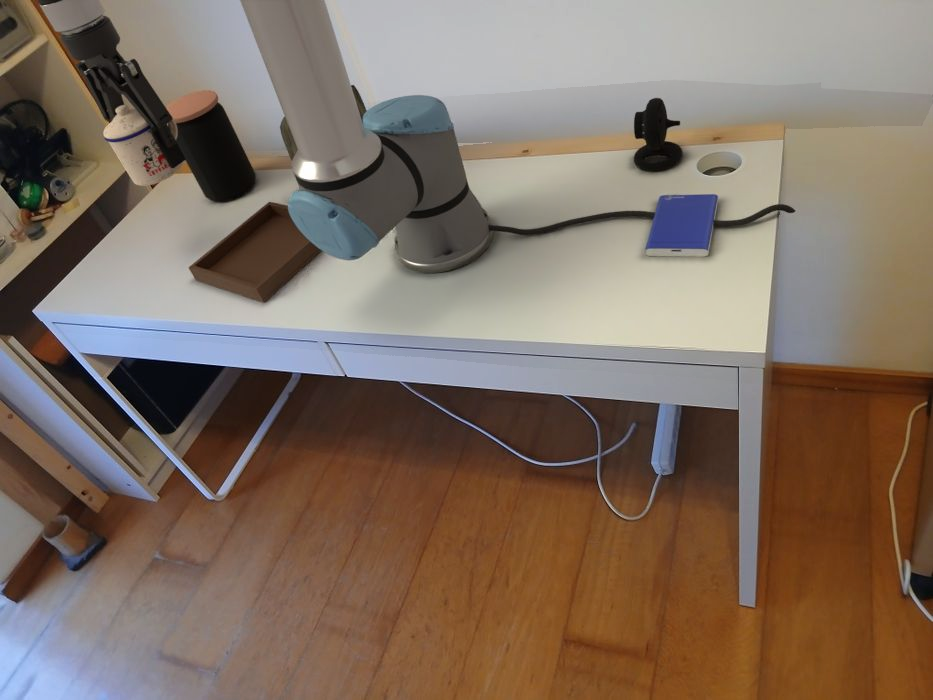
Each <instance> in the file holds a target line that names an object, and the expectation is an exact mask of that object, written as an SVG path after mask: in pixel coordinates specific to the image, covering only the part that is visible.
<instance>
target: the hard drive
mask: <svg viewBox="0 0 933 700" xmlns="http://www.w3.org/2000/svg"><path fill="white" fill-rule="evenodd" d="M718 203H719V194H714V193H707V194H706V193H705V194H704V193H700V194H699V193H698V194H663V195H660V196H659V197H658V201H657V204H656V207H655V211H654V212H655V215H654V218H652V223H651V226H650V230H649V234H648V238H647V242H646V245H645V255H646V256H649V257H702V258H705V257H708V256H709V253H710V252H709V251H710V248H711V247H710V246H711V241H712V237H713V230H714V226H713V221H714V220H716V214H717V209H718Z"/></svg>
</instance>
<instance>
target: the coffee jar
mask: <svg viewBox="0 0 933 700" xmlns="http://www.w3.org/2000/svg"><path fill="white" fill-rule="evenodd" d="M165 107H166V109H167V110H168V112H169V113H170V115H171V116H172V118H173V119H174V120H175V123H176V125H177V130H178V135H177V139H176V142H177V144H178V146H179V147H180V149H181V151H182V153H183V155H184V156H185V158H186V160H185V162H186V164H187V166H188V168H189V169H190V171H191V173H192V175H193V176H194V179H195V181H196V183H197V184H198V186H199V188H200V190H201V192H202V194H203V195H204V197H205V198H206V199H208V200H210V201H212V202H214V203H229V202H230V201H235V200H236V199H238V198H241V197H242V196H244V195H245V194H248V192H249V191H250V190H252V189H253V187H254V186H255V183H256V172H255V170H254V168H253V166H252V164H251V161H250V159H249V157H248V154H247V153H246V151H245V149H244V147H243V145H242V143H241V141H240V139H239V136H238V135H237V133H236V131H235V128H234V126H233V124H232V122H231V119H230V118H229V116H228V114H227V112H226V110H225V108H224V106H223V105H222V104H221V102H219V96H218V93H217V92H216V91H215V90H211V89H208V90H207V89H205V90H198V91H193V92H190V93H187V94H185V95H183V96H181V97H179V98H176V99H175V100H173V101H171V102H170V103H169V104H167V105H165ZM167 126H168V128H169V129H170V125H169V123H167ZM170 131H171V129H170Z"/></svg>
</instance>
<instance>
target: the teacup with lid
mask: <svg viewBox="0 0 933 700" xmlns="http://www.w3.org/2000/svg"><path fill="white" fill-rule="evenodd" d="M116 113H117V115H116V116H115V117H114V118H113V120H112V122H111V121H110V122H109V123H108V124H107V125H106V126H105V128H104V129H103V138H104V141H106V142H108V144H109V146H110V147H111V148H112V150H113V152H114V153H115V155H116V157H117V158H118V160H119V161H120V163H121V165H122V166H123V168H124V169H125V171H126V172H127V175H128V176H129V178H130V179H131V181H132V183H133V184H134V185H136V186H139V187H147V186H152V185H156V184H159V183H162V182H163V181H166V180H167V179H169V178H171V177H172V176H174V175H175V174H176V173H177V172H178V171H180V169H181V168H182V166H183V162H184V161H183V162H182V163H180V164H179V165H178V166H176V167H175V168H171V167H170V165H169V164H168V162H167V160H166V158H165V157H164V155H163V153H162V151H161V150H160V148H159V146H158V145H157V143H156V141H155V139H154V138H153V136H152V134H151V133H150V132H149V130H150V129H151V127H150V126H149V125H148V123H147V122H146V121H145V120H144V119H143V117H142V116H141V115H140V114H139V113H138V111H137V110H136V109H135V108H129V106H128V105H126V104H124V105H121V106H119V107H117V108H116ZM169 125H170V129H171V133H172V135H173V137H174V138H175V140H176V139H177V135H178V130H177V125H176V123H175V120H174V119H173V120H171V121H170V122H169Z"/></svg>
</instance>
